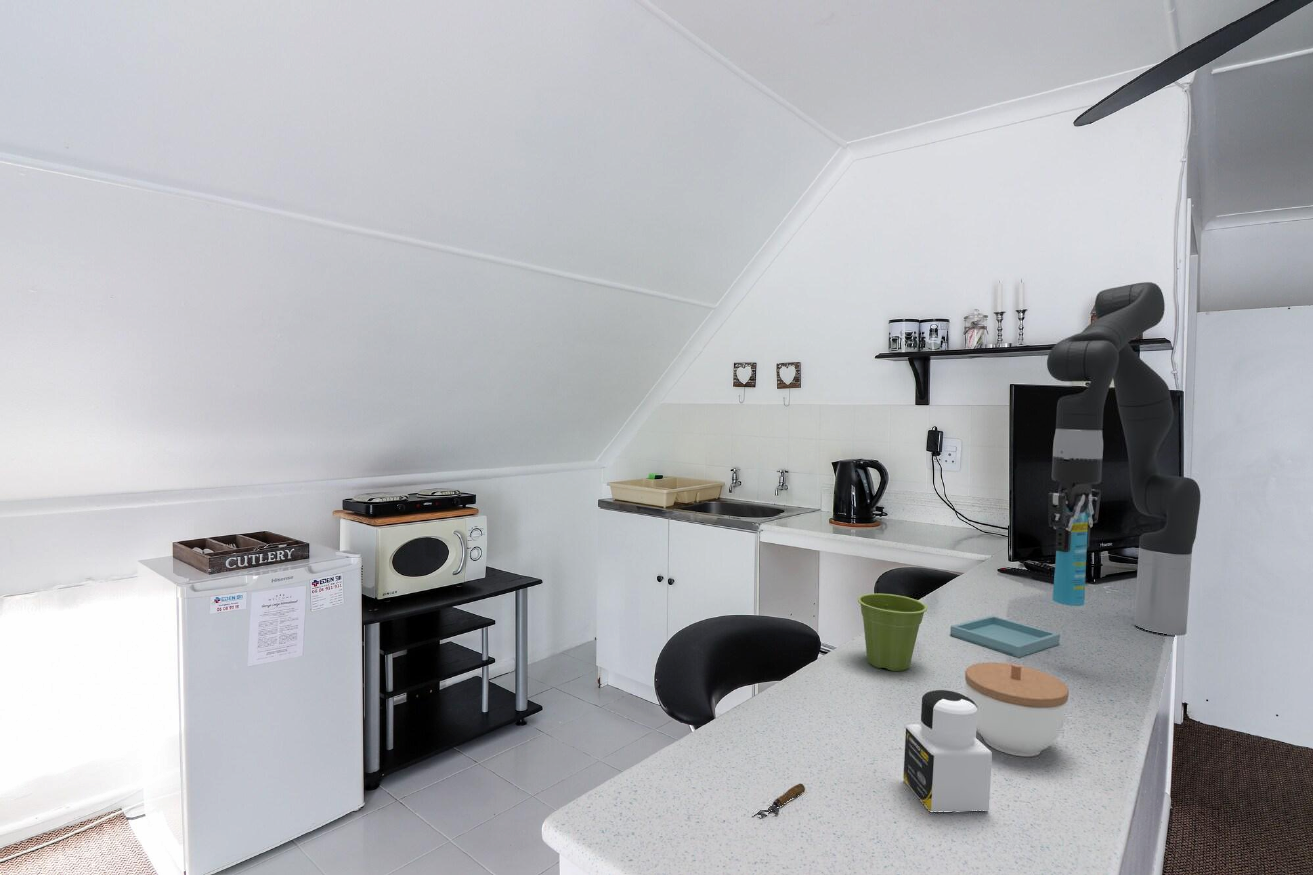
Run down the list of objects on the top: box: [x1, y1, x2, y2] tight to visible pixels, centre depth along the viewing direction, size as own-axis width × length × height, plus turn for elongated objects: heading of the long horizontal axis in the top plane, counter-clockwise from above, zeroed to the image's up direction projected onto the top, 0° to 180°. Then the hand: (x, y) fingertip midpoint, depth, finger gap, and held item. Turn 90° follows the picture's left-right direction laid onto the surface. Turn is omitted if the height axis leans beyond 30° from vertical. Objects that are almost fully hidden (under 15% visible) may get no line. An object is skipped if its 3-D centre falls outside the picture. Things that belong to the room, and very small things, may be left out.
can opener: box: [757, 783, 806, 817], centre depth 80 cm, size 9×2×1 cm, turn 129°
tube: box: [1052, 506, 1088, 607], centre depth 124 cm, size 7×5×19 cm, turn 124°
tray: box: [949, 615, 1061, 659], centre depth 141 cm, size 15×14×2 cm
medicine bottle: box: [903, 689, 993, 812], centre depth 83 cm, size 7×7×12 cm
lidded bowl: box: [964, 662, 1070, 758], centre depth 96 cm, size 13×13×11 cm
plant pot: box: [857, 593, 929, 672], centre depth 125 cm, size 12×12×11 cm
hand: (1072, 549), depth 124 cm, fingers closed on tube, 6 cm apart
